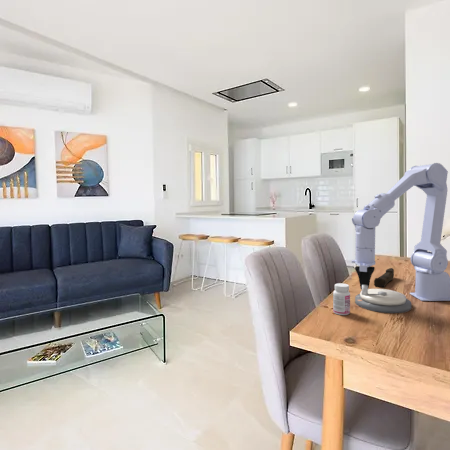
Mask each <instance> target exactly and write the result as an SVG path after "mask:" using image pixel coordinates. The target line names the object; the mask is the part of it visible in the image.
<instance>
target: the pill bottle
mask: <svg viewBox="0 0 450 450" xmlns="http://www.w3.org/2000/svg"><path fill="white" fill-rule="evenodd" d="M332 294H333V295H332V301H333V302H332V303H333V304H332V306H333V307H332V313H334V314H336V315H340V316H348V315H349V314H351V292H350V285H349V284H347V283H342V282H341V283H340V282H338V283H335V284H334V290H333V293H332Z"/></svg>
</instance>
